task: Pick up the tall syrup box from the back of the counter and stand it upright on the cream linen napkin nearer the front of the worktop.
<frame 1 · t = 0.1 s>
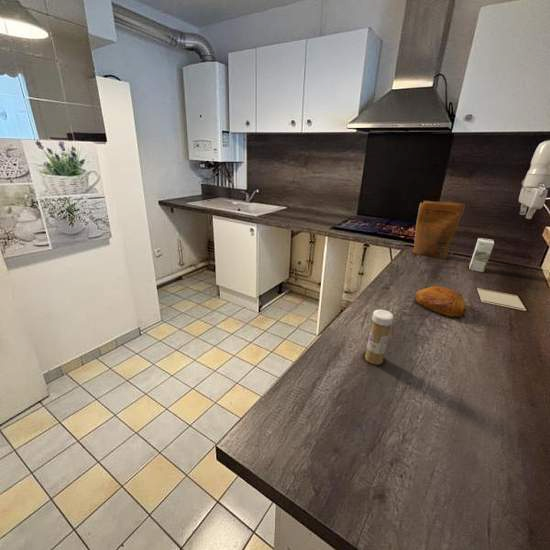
hand: (524, 216, 123), 26 cm above the worktop, tool pointing down, fingers open, 8 cm apart
sprinkles bottle: (373, 360, 74), on the worktop
napkin: (499, 299, 107), on the worktop
pancake mix bag: (428, 256, 151), on the worktop
bread loaf: (440, 307, 100), on the worktop
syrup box: (476, 270, 135), on the worktop
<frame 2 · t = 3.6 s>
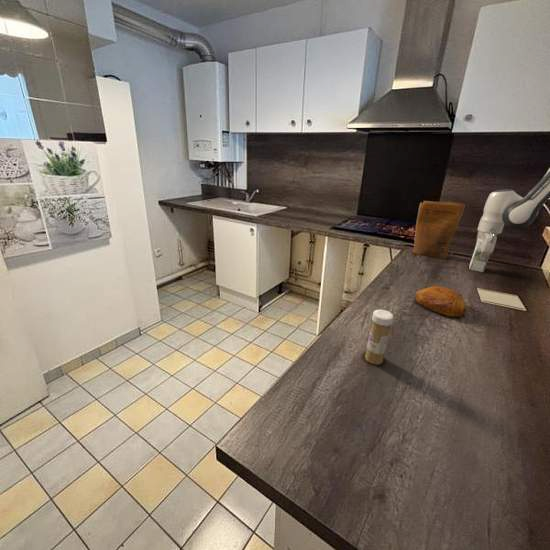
hand: (480, 257, 132), 6 cm above the worktop, tool pointing down, fingers closed on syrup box, 6 cm apart
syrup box: (476, 270, 135), on the worktop, touching gripper
everything else where it was.
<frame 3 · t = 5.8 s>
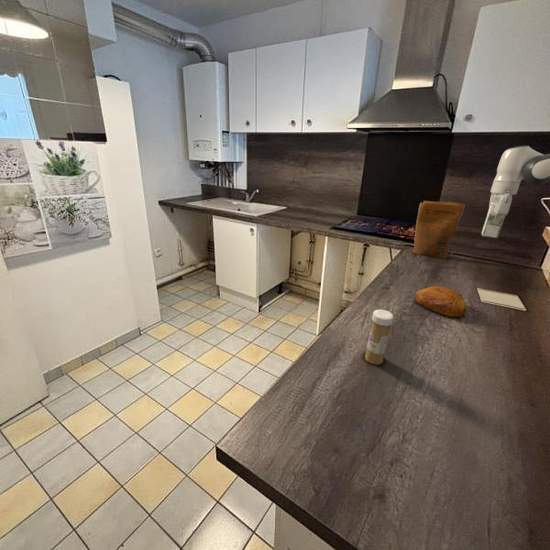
hand: (493, 222, 125), 23 cm above the worktop, tool pointing down, fingers closed on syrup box, 6 cm apart
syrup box: (489, 236, 127), point 16 cm above the worktop, touching gripper
everything else where it was.
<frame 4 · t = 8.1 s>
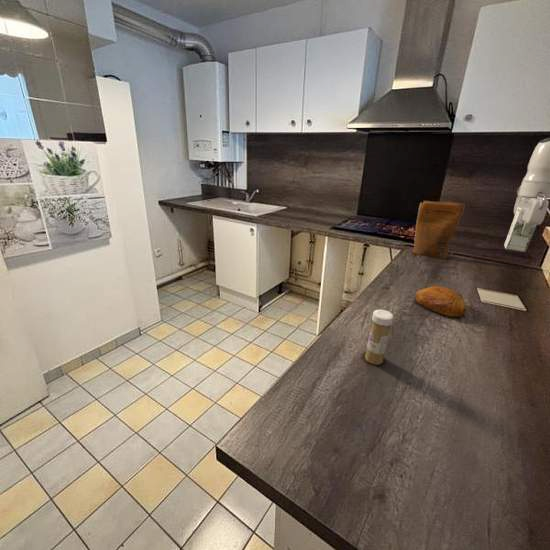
hand: (520, 232, 100), 25 cm above the worktop, tool pointing down, fingers closed on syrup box, 6 cm apart
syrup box: (514, 249, 103), point 18 cm above the worktop, touching gripper
everything else where it was.
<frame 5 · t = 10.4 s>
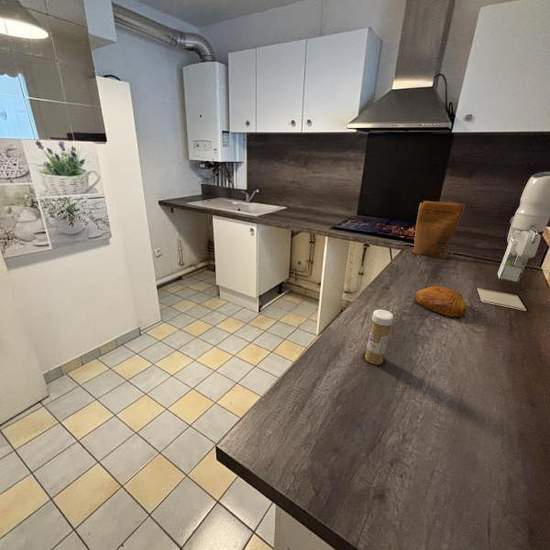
hand: (513, 262, 102), 15 cm above the worktop, tool pointing down, fingers closed on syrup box, 6 cm apart
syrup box: (507, 278, 104), point 8 cm above the worktop, touching gripper
everything else where it was.
when the fingers open (6 cm above the worktop, at t = 12.8 s): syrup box stays where it is, resting on napkin.
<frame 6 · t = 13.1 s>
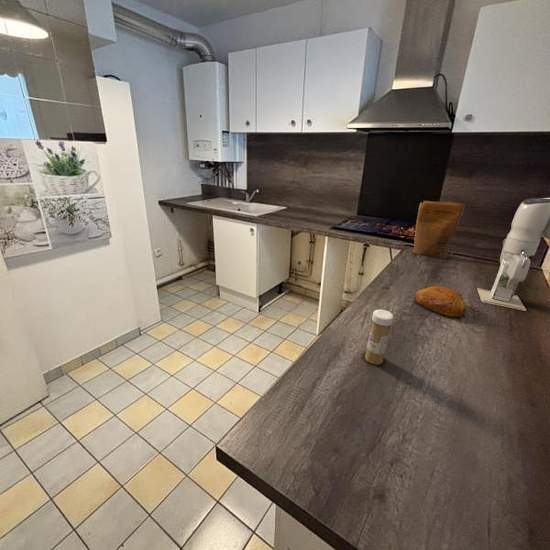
hand: (505, 283, 105), 6 cm above the worktop, tool pointing down, fingers open, 8 cm apart
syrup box: (499, 298, 107), resting on napkin
everything else where it was.
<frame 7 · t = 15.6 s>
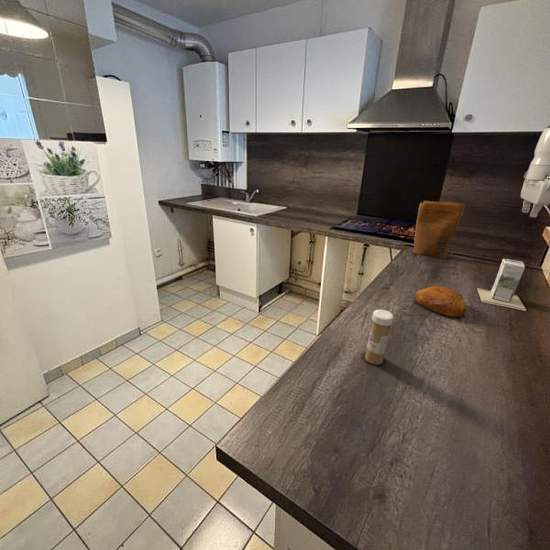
hand: (528, 214, 106), 29 cm above the worktop, tool pointing down, fingers open, 8 cm apart
nothing on the worktop moved.
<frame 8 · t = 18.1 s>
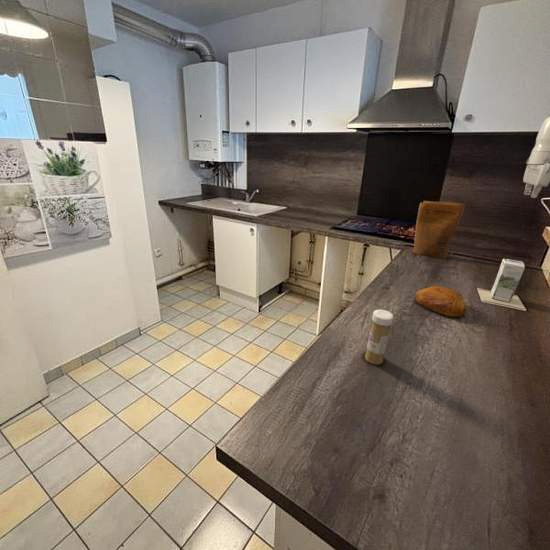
hand: (529, 196, 119), 34 cm above the worktop, tool pointing down, fingers open, 8 cm apart
nothing on the worktop moved.
at the end: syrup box inside the target area on the napkin (0.0 cm from its centre), point 0.2 cm above the napkin's base; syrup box tilted 0°; the gripper is holding nothing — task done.
